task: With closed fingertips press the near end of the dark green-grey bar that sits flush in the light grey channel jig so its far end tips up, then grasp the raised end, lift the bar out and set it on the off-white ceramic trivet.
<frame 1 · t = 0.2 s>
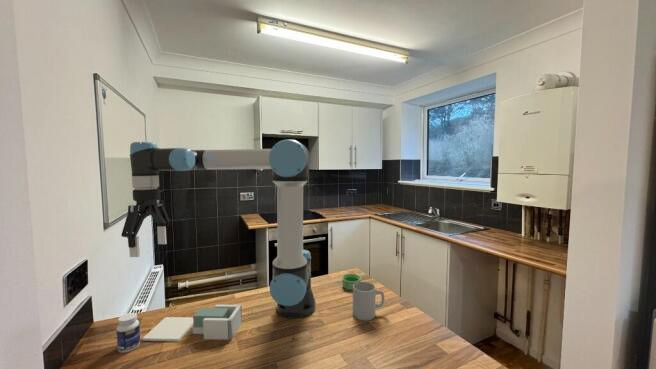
hand: (149, 249, 92), 28 cm above the counter, fingers open, 13 cm apart
ramekin: (351, 287, 125), on the counter
mug: (368, 314, 102), on the counter
jig: (212, 330, 92), on the counter
pill bottle: (129, 347, 84), on the counter
trivet: (172, 329, 92), on the counter
bar: (211, 323, 92), point 2 cm above the counter, touching jig
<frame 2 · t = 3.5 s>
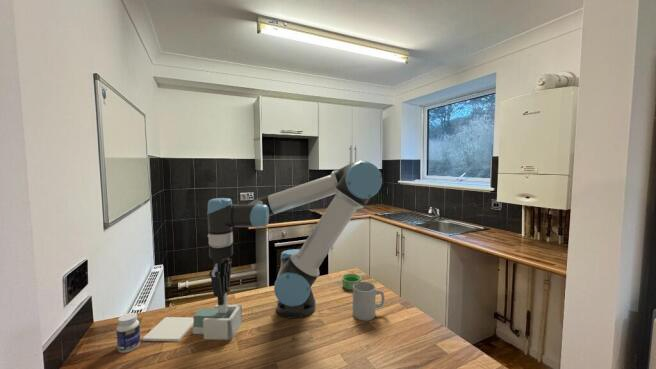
hand: (222, 311, 91), 7 cm above the counter, fingers closed
bar: (211, 323, 92), point 2 cm above the counter, touching gripper, jig
everything else where it was.
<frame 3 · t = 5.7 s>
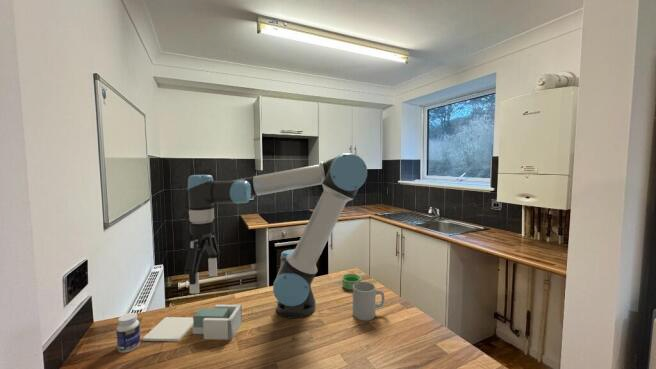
hand: (204, 283, 91), 16 cm above the counter, fingers open, 12 cm apart
bar: (211, 323, 92), point 2 cm above the counter, touching jig
everything else where it was.
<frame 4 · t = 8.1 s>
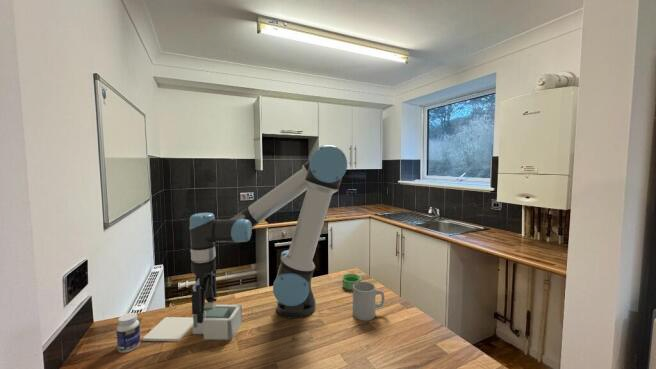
hand: (206, 325, 92), 2 cm above the counter, fingers closed on bar, 5 cm apart
bar: (211, 323, 92), point 3 cm above the counter, touching gripper, jig
everything else where it was.
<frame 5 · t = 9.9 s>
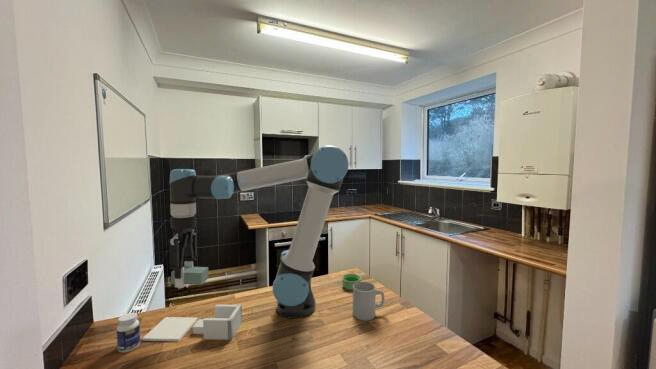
hand: (184, 283, 91), 17 cm above the counter, fingers closed on bar, 5 cm apart
bar: (190, 281, 91), point 17 cm above the counter, touching gripper
everything else where it was.
when the fingers open (7 cm above the counter, at t = 11.9 s): bar drops 7 cm, resting on trivet.
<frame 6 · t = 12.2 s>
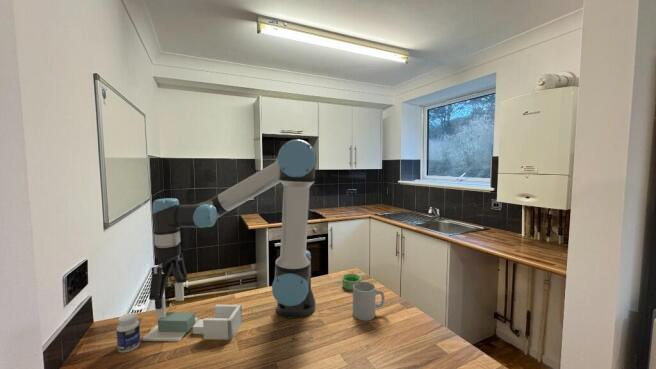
hand: (170, 308, 92), 8 cm above the counter, fingers open, 10 cm apart
bar: (177, 327, 92), point 1 cm above the counter, touching trivet
everything else where it was.
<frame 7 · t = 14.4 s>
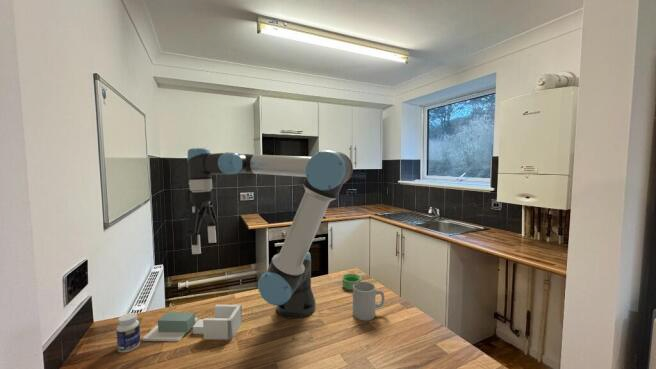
hand: (205, 247, 100), 26 cm above the counter, fingers open, 13 cm apart
nothing on the counter moved.
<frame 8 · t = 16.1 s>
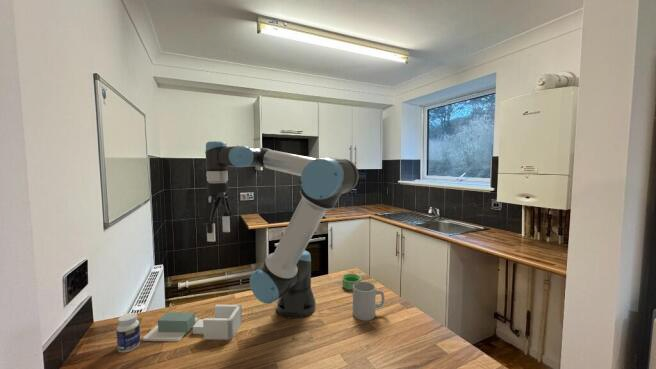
hand: (219, 236, 105), 29 cm above the counter, fingers open, 13 cm apart
nothing on the counter moved.
at the end: bar inside the target area on the trivet (2.0 cm from its centre), point 0.8 cm above the trivet's base; the gripper is holding nothing; bar moved 12.2 cm from its start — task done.
